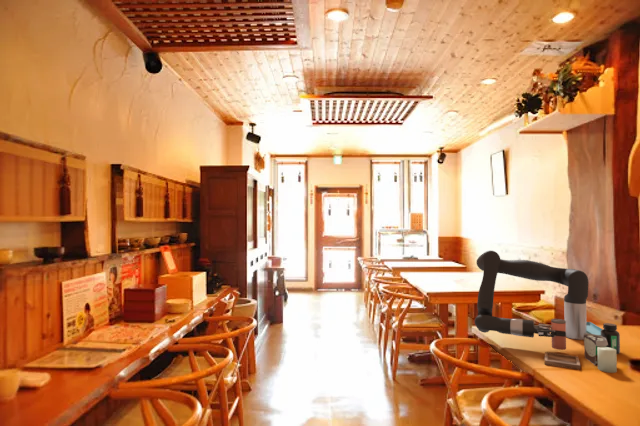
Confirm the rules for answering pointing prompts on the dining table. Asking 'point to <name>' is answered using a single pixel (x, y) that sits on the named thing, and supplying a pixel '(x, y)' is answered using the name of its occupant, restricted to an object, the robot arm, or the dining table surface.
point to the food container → (593, 346)
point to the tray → (562, 360)
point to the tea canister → (558, 341)
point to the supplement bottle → (611, 336)
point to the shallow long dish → (593, 329)
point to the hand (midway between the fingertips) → (565, 332)
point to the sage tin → (607, 359)
